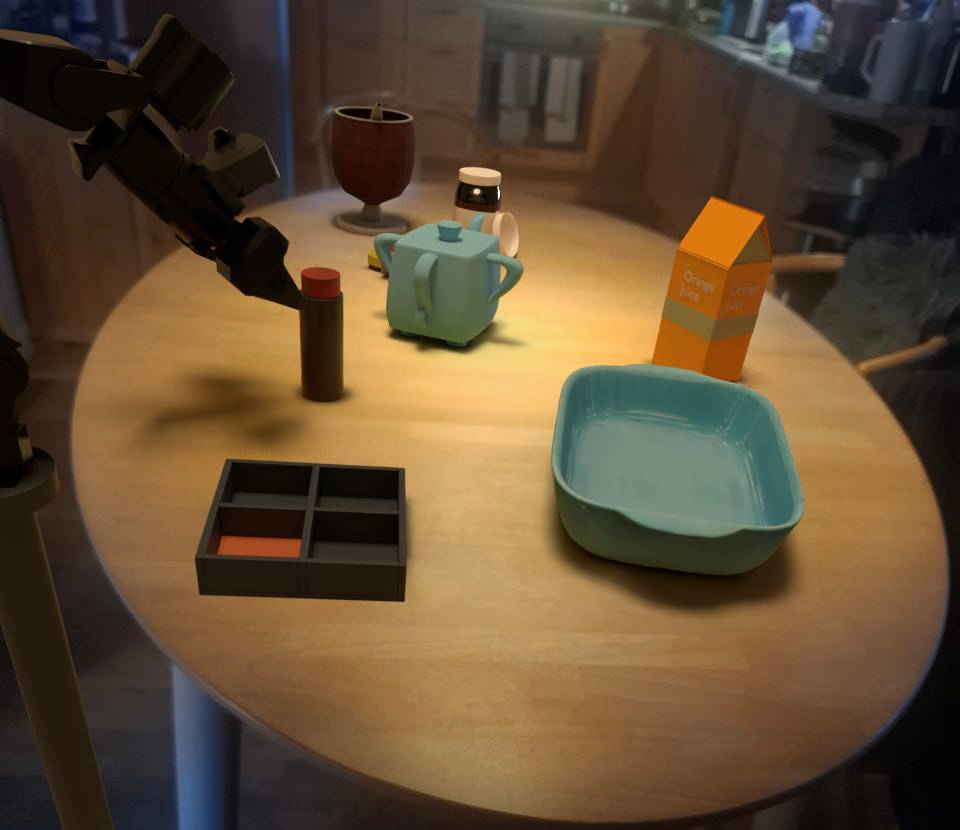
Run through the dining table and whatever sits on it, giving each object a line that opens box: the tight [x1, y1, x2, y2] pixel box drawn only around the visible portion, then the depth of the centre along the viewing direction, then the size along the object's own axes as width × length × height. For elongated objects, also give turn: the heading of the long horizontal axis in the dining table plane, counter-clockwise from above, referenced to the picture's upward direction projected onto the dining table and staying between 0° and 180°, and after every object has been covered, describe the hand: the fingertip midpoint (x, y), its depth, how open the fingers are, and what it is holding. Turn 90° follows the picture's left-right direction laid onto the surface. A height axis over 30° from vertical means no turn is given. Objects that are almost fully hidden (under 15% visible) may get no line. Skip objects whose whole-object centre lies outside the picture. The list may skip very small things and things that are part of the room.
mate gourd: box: [330, 101, 416, 237], centre depth 149 cm, size 16×14×20 cm
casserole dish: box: [550, 363, 806, 576], centre depth 86 cm, size 37×22×7 cm, turn 172°
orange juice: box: [651, 195, 774, 382], centre depth 109 cm, size 8×9×20 cm
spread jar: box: [452, 166, 520, 258], centre depth 146 cm, size 12×11×12 cm
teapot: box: [373, 213, 525, 347], centre depth 115 cm, size 18×16×14 cm
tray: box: [194, 458, 408, 603], centre depth 74 cm, size 16×16×4 cm
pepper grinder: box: [298, 266, 344, 403], centre depth 95 cm, size 5×5×13 cm
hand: (283, 291), depth 90 cm, fingers open, 9 cm apart
